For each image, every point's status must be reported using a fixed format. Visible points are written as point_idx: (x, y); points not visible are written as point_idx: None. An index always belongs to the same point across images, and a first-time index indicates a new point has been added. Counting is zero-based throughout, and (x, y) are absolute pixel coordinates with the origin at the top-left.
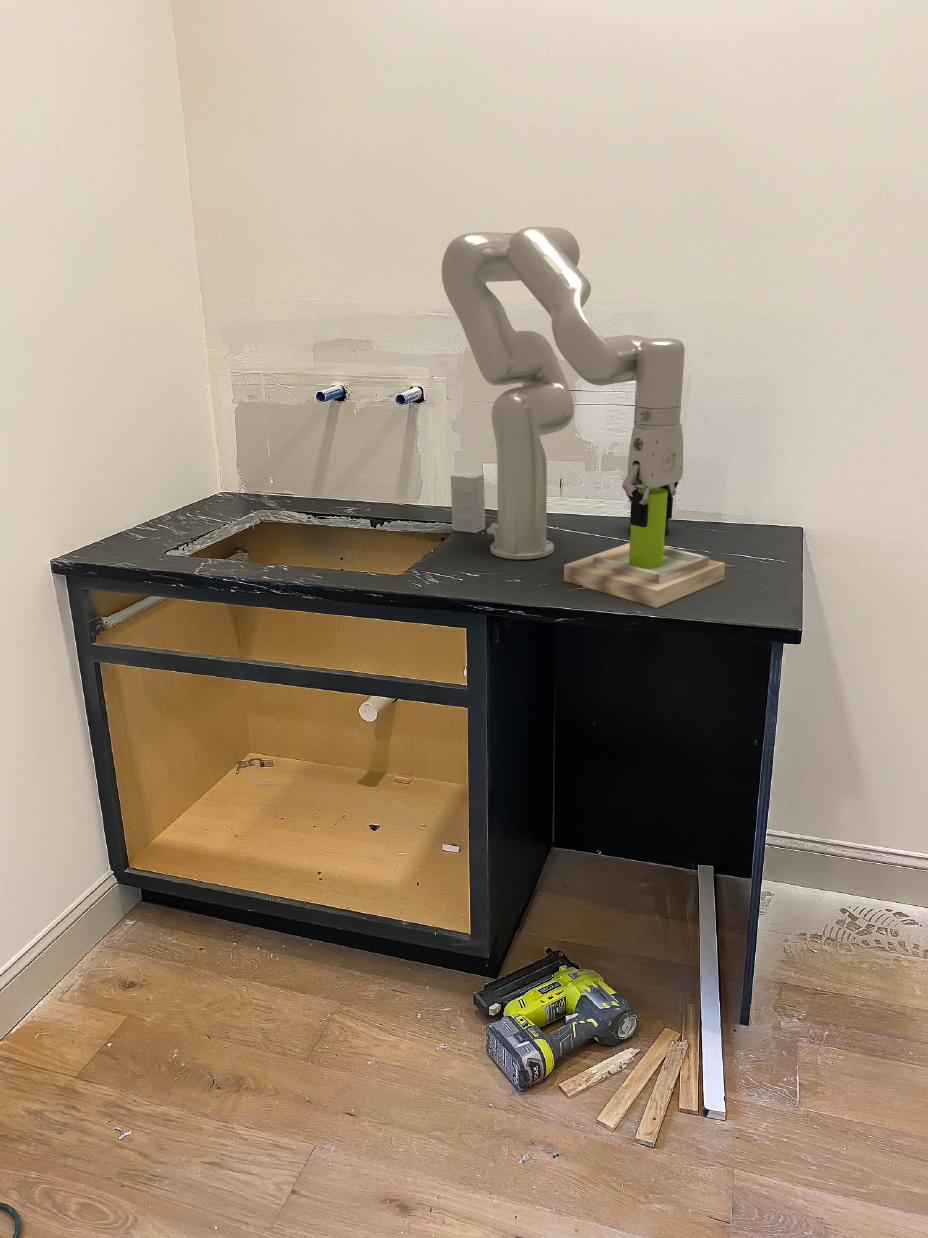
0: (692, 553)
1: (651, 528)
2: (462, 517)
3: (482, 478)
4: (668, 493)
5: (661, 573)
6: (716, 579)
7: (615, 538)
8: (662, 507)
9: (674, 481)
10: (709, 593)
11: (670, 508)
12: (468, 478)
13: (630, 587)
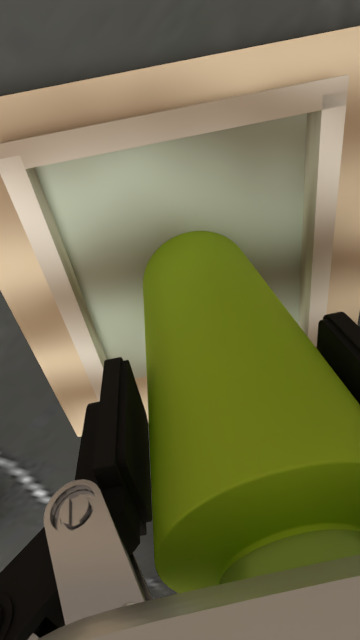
0: (28, 228)
1: (281, 308)
2: None
3: None
4: (115, 507)
5: (324, 98)
6: None
7: (39, 493)
8: (264, 371)
9: (174, 622)
10: (99, 17)
11: (118, 398)
12: None
13: None
